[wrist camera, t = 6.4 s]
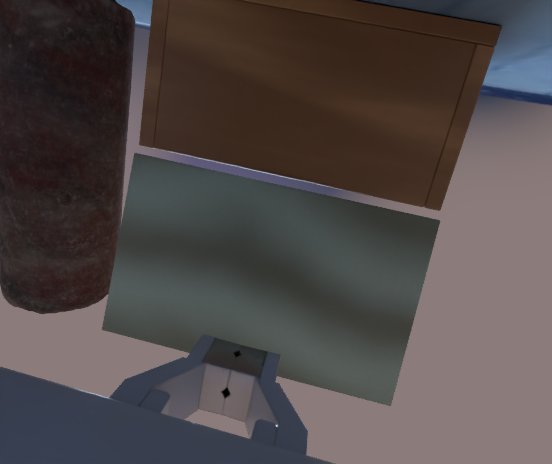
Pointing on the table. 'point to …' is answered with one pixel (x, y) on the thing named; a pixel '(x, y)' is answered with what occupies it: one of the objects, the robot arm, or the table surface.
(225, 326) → the pale green flat panel
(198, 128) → the box
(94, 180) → the dark brown rough cylinder
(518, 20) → the table surface
